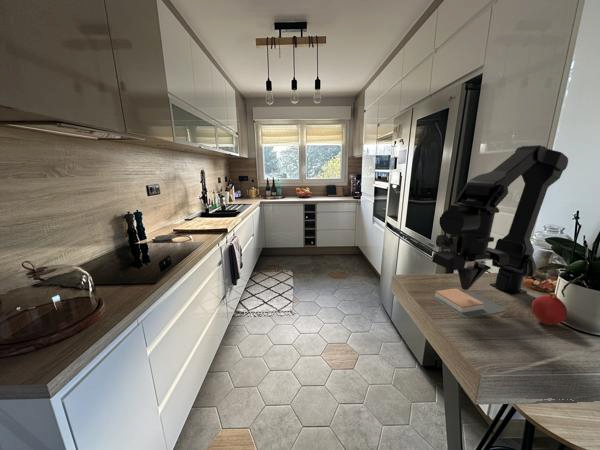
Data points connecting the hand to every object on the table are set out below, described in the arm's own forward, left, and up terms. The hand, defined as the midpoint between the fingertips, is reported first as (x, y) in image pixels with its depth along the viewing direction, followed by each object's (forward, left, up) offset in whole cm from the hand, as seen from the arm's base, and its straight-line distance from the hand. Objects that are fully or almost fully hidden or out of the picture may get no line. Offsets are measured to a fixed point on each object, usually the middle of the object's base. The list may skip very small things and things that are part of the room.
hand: (464, 289), depth 65 cm
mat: (-1, +1, -4) cm, 4 cm away
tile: (-2, 0, -3) cm, 4 cm away
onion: (-11, +12, -4) cm, 17 cm away
